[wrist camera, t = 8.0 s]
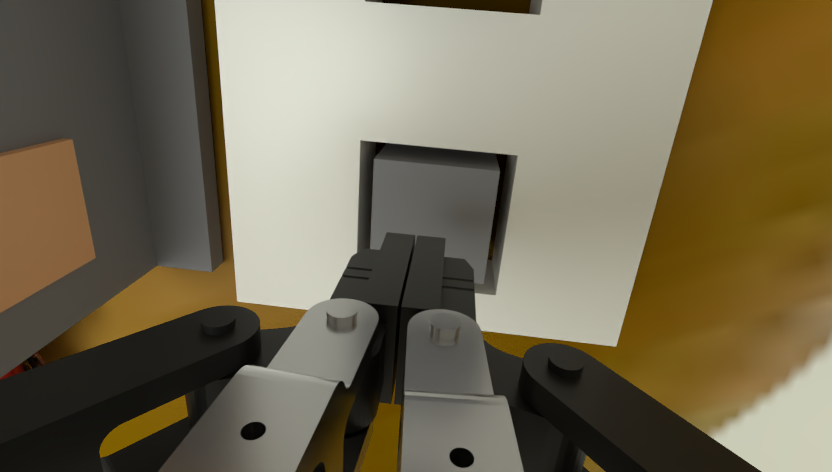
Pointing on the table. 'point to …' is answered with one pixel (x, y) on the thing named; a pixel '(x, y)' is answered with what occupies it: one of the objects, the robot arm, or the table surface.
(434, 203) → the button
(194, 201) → the pattern sign
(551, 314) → the button board
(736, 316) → the table surface
